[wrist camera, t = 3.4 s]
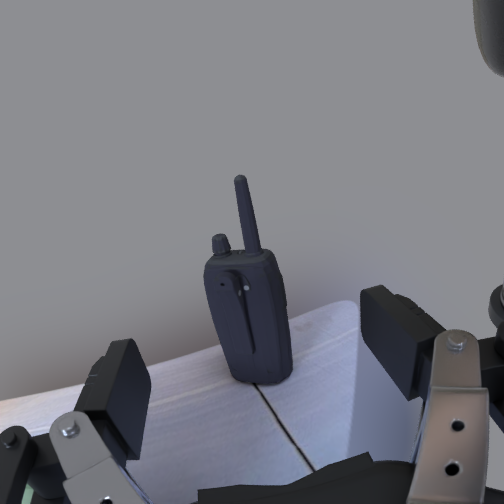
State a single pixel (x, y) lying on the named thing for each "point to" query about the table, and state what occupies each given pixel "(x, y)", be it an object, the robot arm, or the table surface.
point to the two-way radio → (249, 302)
